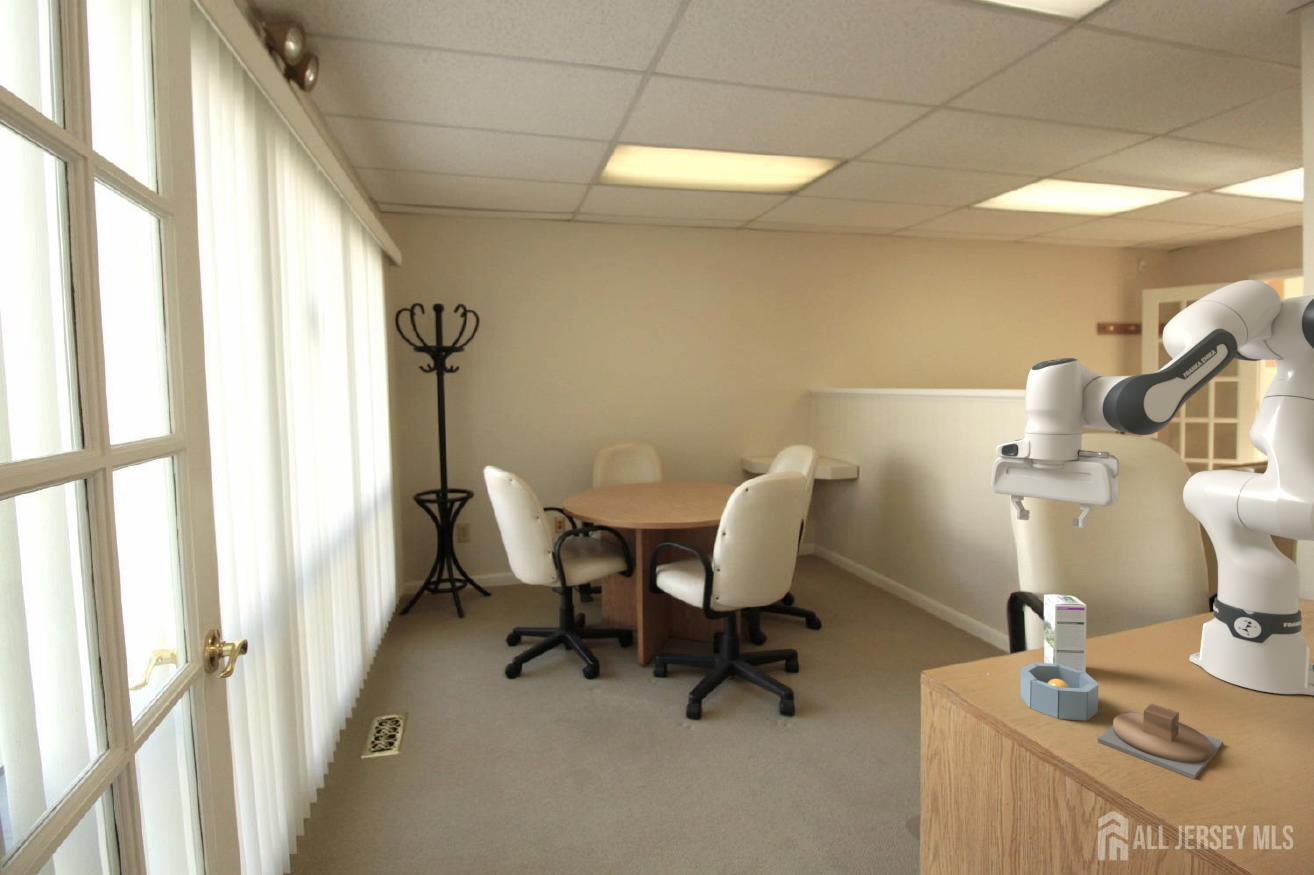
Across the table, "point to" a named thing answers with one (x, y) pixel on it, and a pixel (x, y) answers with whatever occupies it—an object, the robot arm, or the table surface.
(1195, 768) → the mat
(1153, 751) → the lid
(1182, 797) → the table surface
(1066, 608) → the syrup box
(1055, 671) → the bowl
